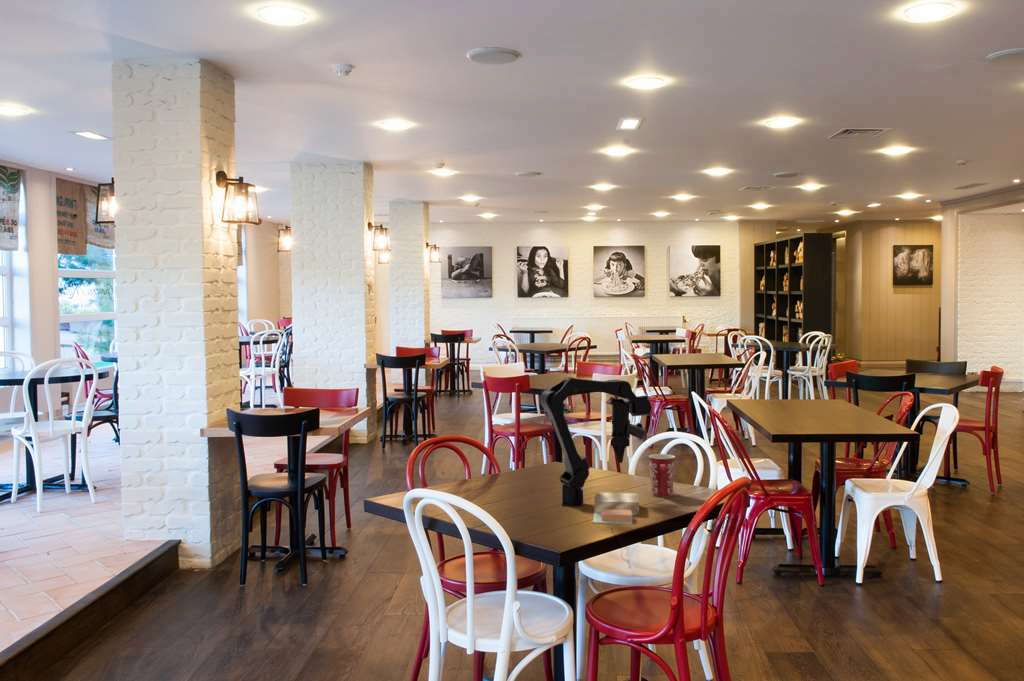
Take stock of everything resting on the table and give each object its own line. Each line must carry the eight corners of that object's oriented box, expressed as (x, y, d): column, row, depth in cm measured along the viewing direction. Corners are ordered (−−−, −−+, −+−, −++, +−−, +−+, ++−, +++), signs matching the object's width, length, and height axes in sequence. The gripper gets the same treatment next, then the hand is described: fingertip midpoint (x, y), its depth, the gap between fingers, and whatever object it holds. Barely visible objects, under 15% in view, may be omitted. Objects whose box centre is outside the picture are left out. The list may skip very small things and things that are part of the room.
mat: (592, 523, 256) (592, 522, 256) (594, 513, 267) (594, 512, 267) (632, 524, 255) (632, 523, 255) (632, 514, 265) (632, 513, 265)
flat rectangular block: (602, 509, 263) (602, 515, 264) (601, 514, 257) (601, 520, 258) (631, 510, 262) (631, 516, 262) (631, 515, 256) (631, 521, 256)
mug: (648, 491, 297) (648, 453, 296) (674, 491, 295) (674, 453, 294) (648, 500, 284) (648, 460, 283) (676, 500, 283) (676, 461, 282)
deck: (594, 513, 267) (594, 501, 267) (596, 504, 279) (596, 492, 279) (638, 514, 265) (638, 502, 265) (638, 505, 277) (638, 493, 277)
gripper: (644, 421, 274) (645, 468, 275) (644, 413, 292) (644, 457, 293) (610, 421, 275) (610, 468, 276) (612, 413, 294) (612, 457, 295)
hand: (620, 462), depth 285 cm, fingers closed
